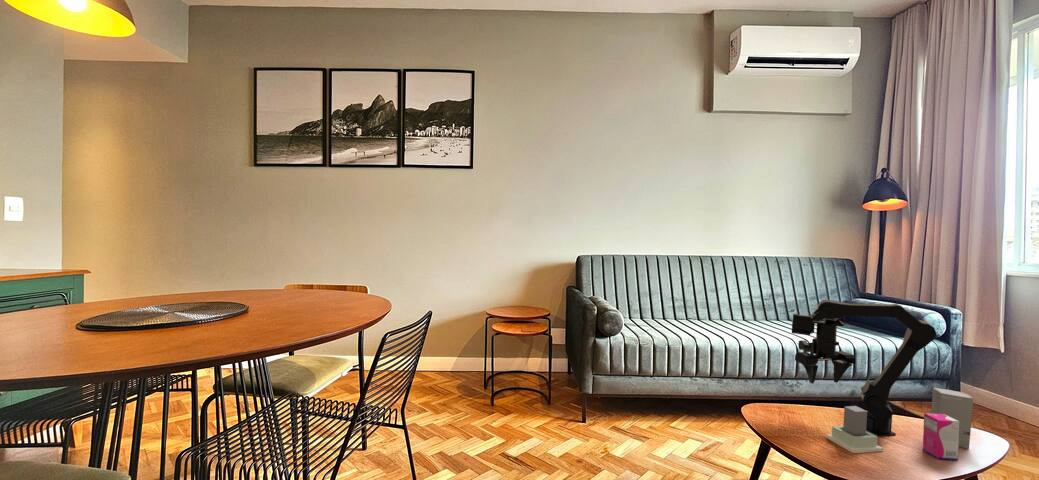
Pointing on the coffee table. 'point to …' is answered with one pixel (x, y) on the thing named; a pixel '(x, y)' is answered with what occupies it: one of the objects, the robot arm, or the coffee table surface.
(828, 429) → the coffee table surface
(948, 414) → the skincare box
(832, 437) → the socket block
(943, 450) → the supplement box
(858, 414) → the peg
